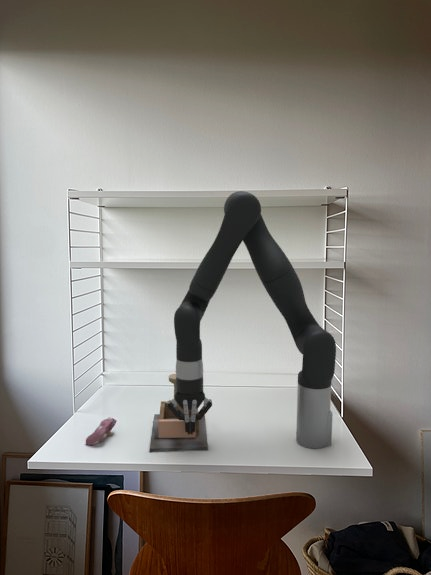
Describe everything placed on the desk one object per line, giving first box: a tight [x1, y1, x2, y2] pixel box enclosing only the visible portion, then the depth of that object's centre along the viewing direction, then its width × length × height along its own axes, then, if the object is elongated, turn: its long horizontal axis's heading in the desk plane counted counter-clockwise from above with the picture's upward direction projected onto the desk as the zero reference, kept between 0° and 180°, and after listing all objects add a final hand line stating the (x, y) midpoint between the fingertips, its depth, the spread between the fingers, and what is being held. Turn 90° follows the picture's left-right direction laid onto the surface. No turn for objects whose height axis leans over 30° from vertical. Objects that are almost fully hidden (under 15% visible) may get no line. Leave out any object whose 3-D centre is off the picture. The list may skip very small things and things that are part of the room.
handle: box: [168, 373, 184, 419], centre depth 145 cm, size 5×6×15 cm
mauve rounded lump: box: [85, 416, 117, 446], centre depth 138 cm, size 10×5×7 cm, turn 165°
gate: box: [153, 419, 196, 438], centre depth 136 cm, size 12×2×5 cm, turn 91°
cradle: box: [149, 400, 209, 453], centre depth 142 cm, size 16×22×6 cm
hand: (190, 433), depth 134 cm, fingers closed
